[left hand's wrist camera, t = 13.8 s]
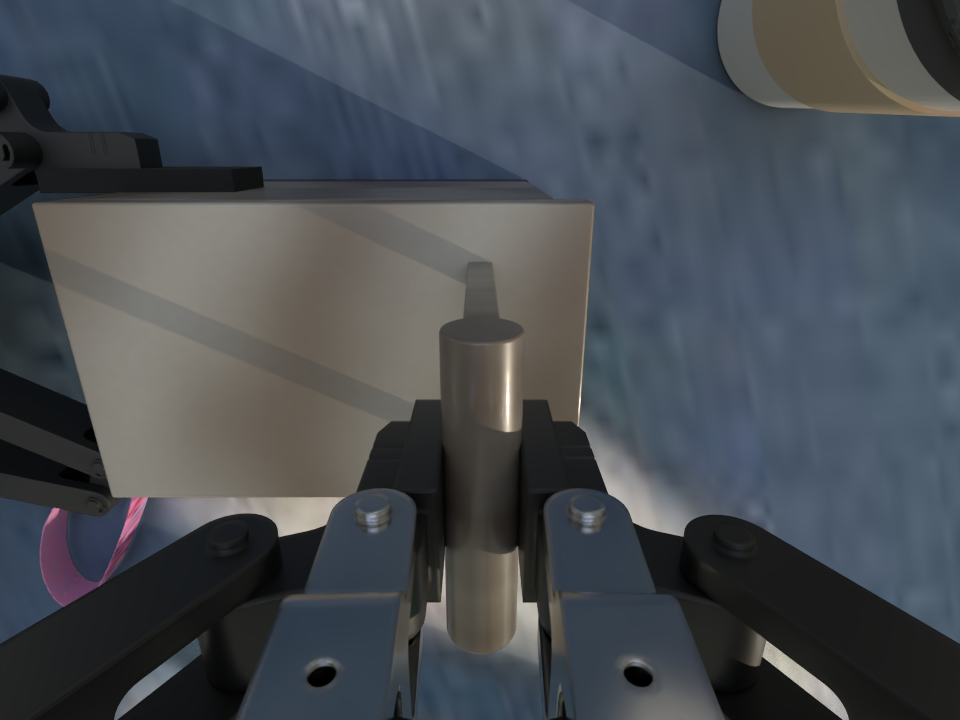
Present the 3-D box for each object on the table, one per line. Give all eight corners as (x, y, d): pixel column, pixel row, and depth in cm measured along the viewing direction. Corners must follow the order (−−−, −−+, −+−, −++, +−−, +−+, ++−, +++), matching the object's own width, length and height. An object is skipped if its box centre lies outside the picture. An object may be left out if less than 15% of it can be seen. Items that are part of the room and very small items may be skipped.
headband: (96, 425, 30) (69, 445, 28) (167, 454, 31) (145, 476, 29) (47, 566, 34) (19, 593, 32) (112, 589, 34) (89, 617, 32)
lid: (588, 199, 16) (695, 248, 8) (569, 480, 19) (632, 707, 11) (56, 199, 16) (-354, 247, 8) (129, 480, 19) (-111, 709, 11)
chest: (526, 179, 26) (555, 198, 16) (521, 366, 29) (542, 479, 19) (220, 179, 26) (57, 198, 16) (249, 367, 29) (130, 480, 19)
